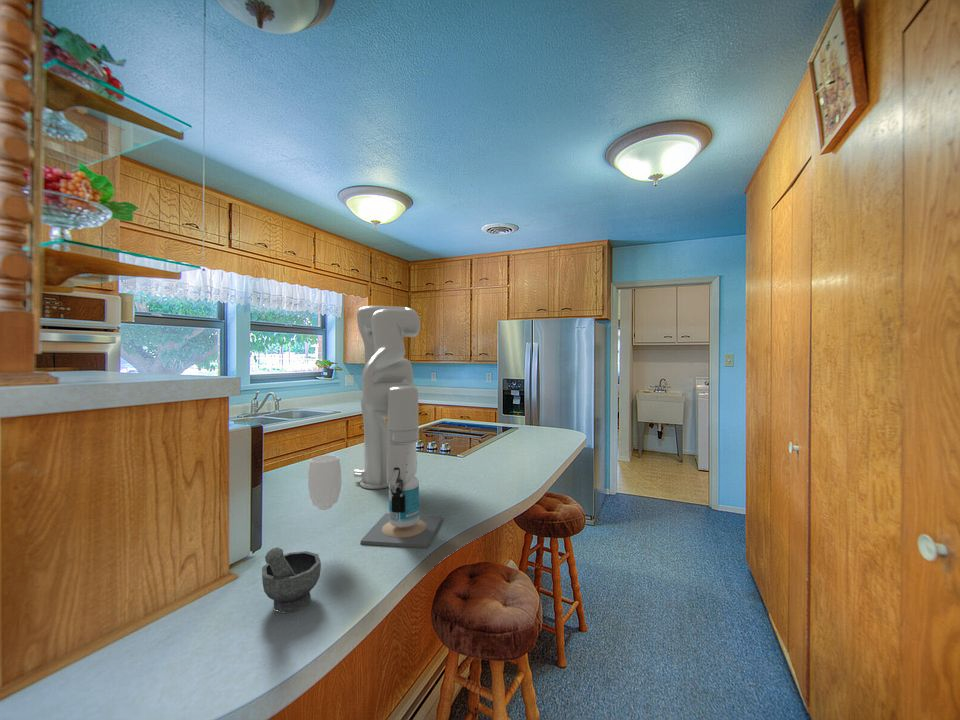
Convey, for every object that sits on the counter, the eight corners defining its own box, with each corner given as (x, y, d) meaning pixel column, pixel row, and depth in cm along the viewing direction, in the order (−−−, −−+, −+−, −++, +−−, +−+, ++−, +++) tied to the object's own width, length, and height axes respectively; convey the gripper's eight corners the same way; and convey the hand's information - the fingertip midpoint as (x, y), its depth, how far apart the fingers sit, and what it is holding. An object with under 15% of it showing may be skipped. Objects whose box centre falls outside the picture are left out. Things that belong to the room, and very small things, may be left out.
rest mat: (360, 544, 95) (360, 540, 95) (385, 516, 111) (385, 512, 111) (427, 548, 93) (427, 544, 93) (442, 519, 109) (442, 515, 109)
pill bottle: (422, 516, 105) (422, 465, 105) (415, 529, 98) (414, 473, 98) (394, 515, 106) (394, 464, 106) (385, 528, 99) (384, 473, 98)
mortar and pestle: (284, 584, 79) (283, 523, 79) (330, 587, 78) (329, 525, 77) (244, 623, 68) (242, 552, 67) (297, 627, 67) (296, 555, 66)
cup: (322, 559, 88) (321, 464, 88) (301, 551, 92) (300, 460, 91) (349, 546, 94) (348, 457, 94) (328, 538, 98) (327, 453, 98)
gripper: (400, 428, 111) (400, 492, 111) (375, 443, 93) (376, 519, 94) (427, 428, 110) (427, 493, 110) (407, 444, 92) (407, 521, 93)
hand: (403, 504), depth 102 cm, fingers closed on pill bottle, 7 cm apart
